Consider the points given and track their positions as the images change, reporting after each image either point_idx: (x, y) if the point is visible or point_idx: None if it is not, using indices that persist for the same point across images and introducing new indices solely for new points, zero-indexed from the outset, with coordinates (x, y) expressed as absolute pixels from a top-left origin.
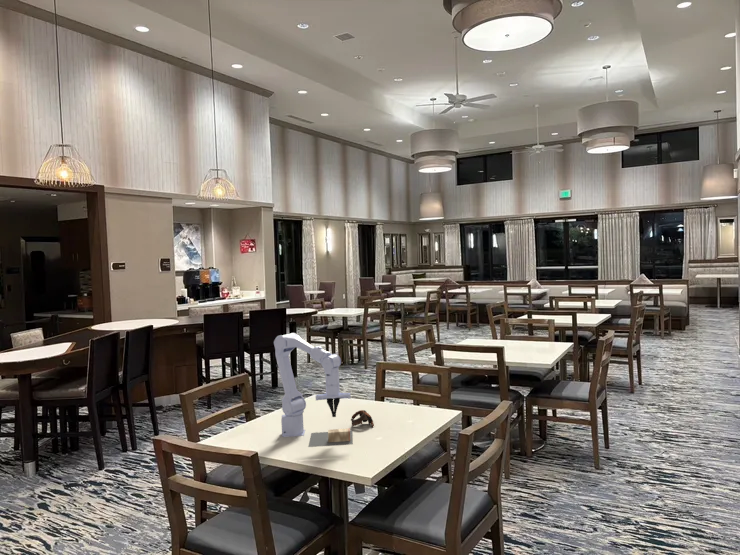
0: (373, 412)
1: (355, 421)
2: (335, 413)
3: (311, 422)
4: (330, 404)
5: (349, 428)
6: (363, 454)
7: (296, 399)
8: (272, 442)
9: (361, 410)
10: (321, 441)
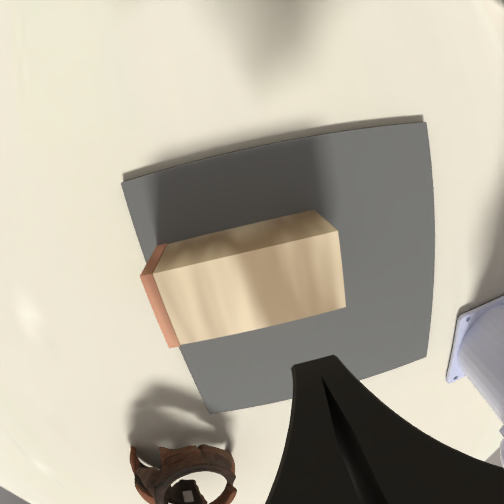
0: None
1: (198, 461)
2: (299, 393)
3: None
4: (449, 489)
5: (168, 341)
6: (32, 35)
7: None
8: None
9: None
10: (366, 226)
